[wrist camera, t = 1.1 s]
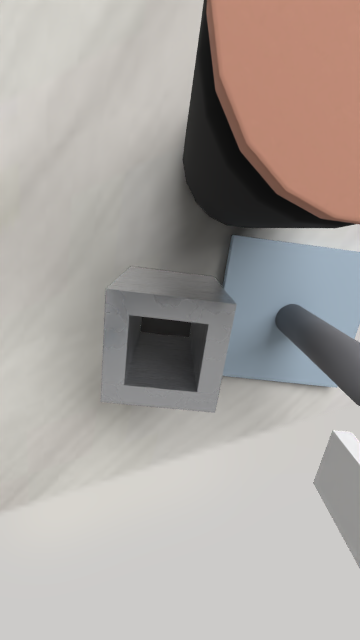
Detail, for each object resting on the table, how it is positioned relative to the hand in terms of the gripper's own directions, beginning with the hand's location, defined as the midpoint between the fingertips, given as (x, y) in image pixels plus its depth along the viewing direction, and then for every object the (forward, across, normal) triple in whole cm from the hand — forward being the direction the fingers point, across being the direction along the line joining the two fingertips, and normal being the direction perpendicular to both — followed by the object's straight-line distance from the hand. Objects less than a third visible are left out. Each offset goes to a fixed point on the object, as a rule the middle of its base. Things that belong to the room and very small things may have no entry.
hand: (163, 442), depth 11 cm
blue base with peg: (+18, +12, +1) cm, 21 cm away
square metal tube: (+18, 0, 0) cm, 18 cm away
